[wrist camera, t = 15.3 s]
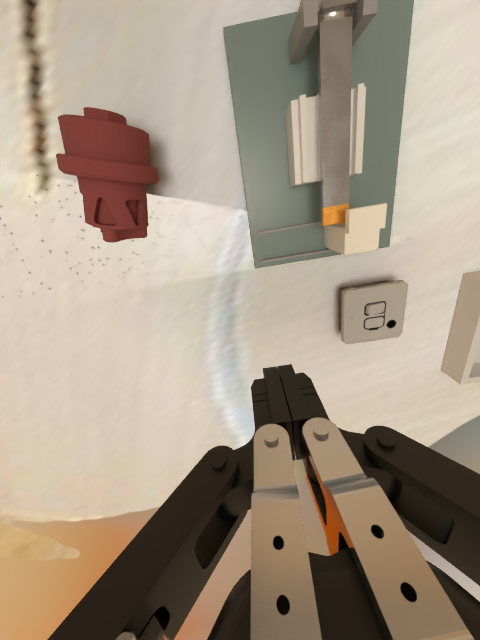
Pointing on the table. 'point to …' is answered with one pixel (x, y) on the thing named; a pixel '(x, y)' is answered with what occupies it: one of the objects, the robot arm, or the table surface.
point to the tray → (465, 334)
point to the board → (269, 127)
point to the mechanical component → (109, 171)
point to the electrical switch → (372, 311)
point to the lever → (334, 105)
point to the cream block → (357, 230)
